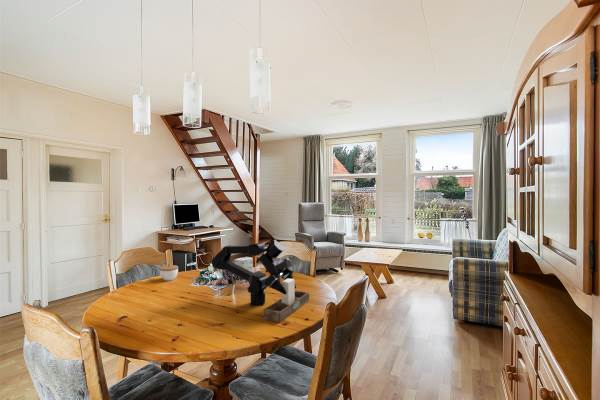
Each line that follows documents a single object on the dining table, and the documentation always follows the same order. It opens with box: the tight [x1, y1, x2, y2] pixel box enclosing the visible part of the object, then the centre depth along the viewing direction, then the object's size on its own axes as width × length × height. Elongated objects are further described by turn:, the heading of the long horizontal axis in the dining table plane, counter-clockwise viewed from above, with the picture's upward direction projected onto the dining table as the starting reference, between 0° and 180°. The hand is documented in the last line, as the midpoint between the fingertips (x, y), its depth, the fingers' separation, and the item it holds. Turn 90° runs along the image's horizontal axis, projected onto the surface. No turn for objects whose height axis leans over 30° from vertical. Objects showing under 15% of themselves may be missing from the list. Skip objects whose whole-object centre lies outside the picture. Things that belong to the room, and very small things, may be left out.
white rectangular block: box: [281, 278, 296, 304], centre depth 139 cm, size 4×6×12 cm, turn 154°
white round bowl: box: [159, 264, 179, 282], centre depth 189 cm, size 11×11×9 cm
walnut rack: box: [263, 290, 310, 323], centre depth 139 cm, size 8×29×4 cm, turn 154°
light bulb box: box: [234, 256, 254, 273], centre depth 201 cm, size 11×7×11 cm, turn 141°
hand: (290, 290), depth 138 cm, fingers open, 9 cm apart
